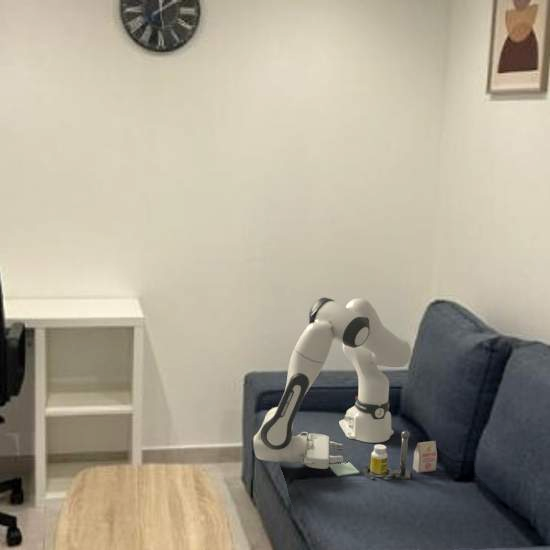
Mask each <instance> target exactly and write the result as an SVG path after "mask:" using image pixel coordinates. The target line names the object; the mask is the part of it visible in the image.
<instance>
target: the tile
mask: <svg viewBox="0 0 550 550" xmlns="http://www.w3.org/2000/svg"><path fill="white" fill-rule="evenodd" d="M347 462H348V463H346V462H338V463H339V464H338V463H329V467H330V468H329V467H328V468H329V470H331V471H332V472H333V474H334V475H336V476H337V477H343V476H349V475H357V474H360V471H359V470H358V469H357V468H356V467H355V466H354V465H353V464H352V463H351V462H350V461H347ZM340 463H341V464H340ZM345 463H346V464H345Z"/></svg>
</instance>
